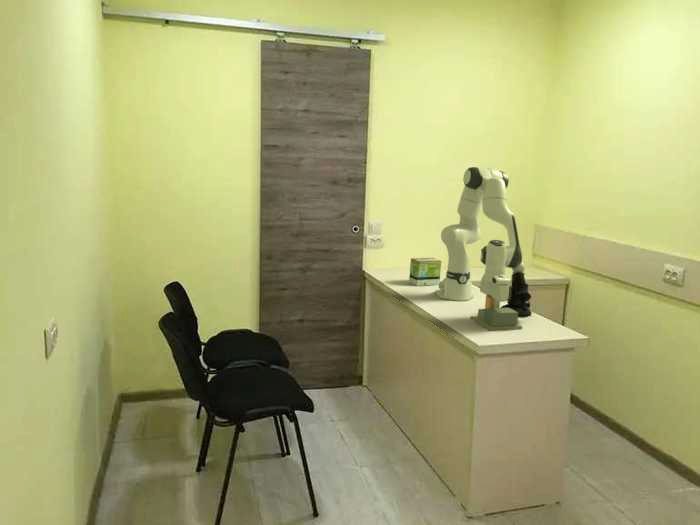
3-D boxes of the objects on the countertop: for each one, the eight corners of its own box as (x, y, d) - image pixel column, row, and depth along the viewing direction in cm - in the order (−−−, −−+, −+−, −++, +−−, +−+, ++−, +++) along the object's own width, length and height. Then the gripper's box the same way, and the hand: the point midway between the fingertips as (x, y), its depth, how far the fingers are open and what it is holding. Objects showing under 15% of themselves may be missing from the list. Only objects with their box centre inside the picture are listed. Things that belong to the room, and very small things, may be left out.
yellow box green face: (484, 313, 267) (486, 294, 265) (494, 312, 268) (496, 293, 266) (488, 315, 263) (490, 296, 261) (498, 315, 264) (500, 295, 263)
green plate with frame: (470, 318, 268) (471, 303, 267) (501, 317, 272) (503, 302, 271) (488, 330, 251) (489, 314, 250) (522, 328, 255) (523, 312, 254)
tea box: (417, 286, 332) (419, 261, 329) (408, 282, 341) (410, 257, 338) (440, 285, 338) (441, 259, 335) (430, 281, 347) (432, 256, 344)
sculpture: (526, 309, 289) (530, 259, 284) (540, 323, 266) (546, 268, 261) (495, 308, 289) (499, 258, 285) (507, 321, 266) (511, 267, 261)
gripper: (477, 272, 272) (475, 301, 274) (499, 281, 252) (496, 312, 255) (490, 272, 273) (487, 300, 276) (512, 281, 254) (509, 312, 256)
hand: (492, 306), depth 265 cm, fingers closed on yellow box green face, 4 cm apart
